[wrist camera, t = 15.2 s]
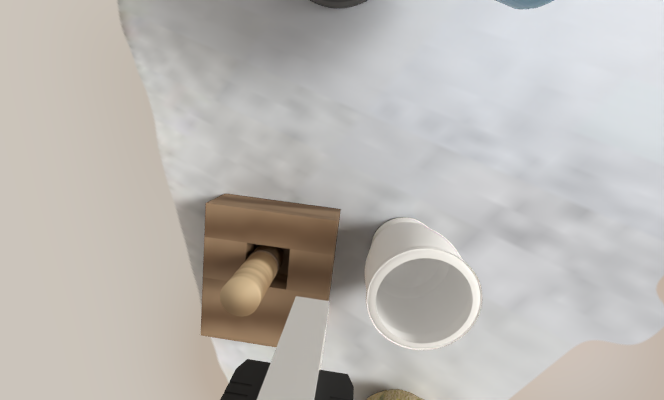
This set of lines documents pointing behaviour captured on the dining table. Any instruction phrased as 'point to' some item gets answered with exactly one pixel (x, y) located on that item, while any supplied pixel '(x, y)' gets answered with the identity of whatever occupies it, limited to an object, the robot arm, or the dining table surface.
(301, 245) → the wooden block with hole
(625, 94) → the dining table surface
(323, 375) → the robot arm
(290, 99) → the dining table surface
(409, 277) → the jar
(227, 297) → the peg
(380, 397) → the cantaloupe
